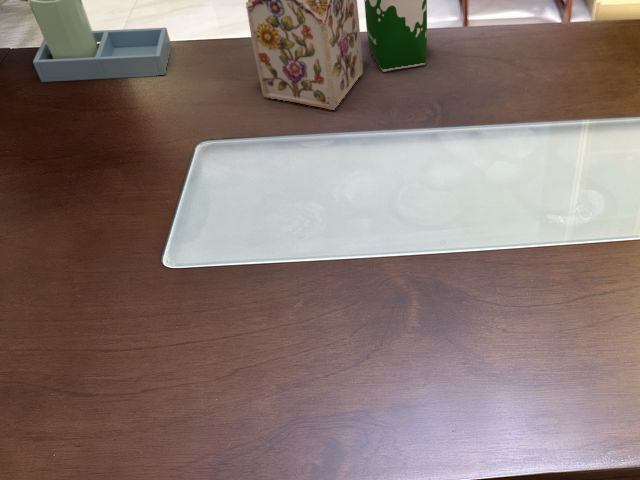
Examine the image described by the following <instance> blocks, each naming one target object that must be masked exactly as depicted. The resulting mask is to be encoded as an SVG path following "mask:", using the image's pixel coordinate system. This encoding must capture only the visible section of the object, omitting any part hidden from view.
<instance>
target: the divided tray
mask: <svg viewBox="0 0 640 480" xmlns="http://www.w3.org/2000/svg"><path fill="white" fill-rule="evenodd" d="M92 31H93V34H94V36H95V39H96V42H97V44H98V47H99V48H98V51H97V53H96V56H95V57H87V58H67V59H52V56H51V54H50V52H49V49H48V47H47V44H46V42H45V40H44V38H43V39H42V42H41V44H40V46H39V48H38V49H37V52H36V54H35V57H34V59H33V61H32V64H33V66H34V68H35V70H36V73H37V75H38V77H39V79H40V80H39V81H41V83H49V82H50V83H52V82H67V81H68V82H70V81H87V80H88V81H89V80H106V79H108V80H109V79H123V78H124V79H125V78H126V79H127V78H143V77H145V78H146V77H159V76H158V75H164V74H165V73H166V74H167V71H166V67H167V68H168V66H167V63H168V64H169V61H168V58H169V59H170V57H169V53H170V54H171V52H170V50H171V51H172V47H173V45H172V42H171V39H170V36H169V33H168V29H167V27H149V28H127V29H125V28H123V29H104V30H103V29H102V30H92ZM156 75H157V76H156Z"/></svg>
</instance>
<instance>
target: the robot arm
mask: <svg viewBox="0 0 640 480" xmlns="http://www.w3.org/2000/svg"><path fill="white" fill-rule="evenodd" d="M20 1H21V2H28V0H20ZM7 2H9V0H0V6H2V5H4V4H6V3H7ZM28 3H29V2H28Z"/></svg>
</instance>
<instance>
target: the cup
mask: <svg viewBox="0 0 640 480" xmlns="http://www.w3.org/2000/svg"><path fill="white" fill-rule="evenodd" d="M28 5H29V6H30V9H31V11H32V13H33V17H34V19H35V21H36V23H37V25H38V27H39V31H40V33H41V35H42V38H43V39H44V40H45V42H46V44H47V47H48V49H49V52H50V56H52V59H67V58H87V57H95V56H96V53H97V51H98V48H99V47H98V42H96V39H95V36H94V34H93V31H94V30H93V28H92V26H91V23H90V20H89V17H88V14H87V11H86V9H85V6H84V3H83V1H82V0H28Z"/></svg>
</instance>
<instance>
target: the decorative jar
mask: <svg viewBox="0 0 640 480" xmlns="http://www.w3.org/2000/svg"><path fill="white" fill-rule="evenodd" d="M245 8H246V14H247V20H248V25H249V26H248V27H249V32H250V37H251V41H252V48H253V54H254V59H255V63H256V69H257V73H258V78H259V83H260V87H261V92H262V96H263V97H264V98H265V97H266V99H269V98H270V99H269V100H274V99H277V100H276V101H280V100H283V101H282V102H285V101H291V102H296V103H301V104H308V105H314V106H319V107H324V108H330V109H335V108H336V107H337V106H338V105H339V106H340V104H341V103H342V102H341V100H342V99H343V98H344V97H345V95H346V94H347V93H348V91H349V90H350V89H351V88H352V86H353V85H354V84H355V82H356V81H357V80H358V78H359V77H360V76H361V75H362V76H363V74H362V73H364V64H363V50H362V41H361V40H362V38H361V29H360V18H359V7H358V0H247V2H245ZM362 76H361V77H362ZM361 77H360V78H361ZM358 81H359V80H358ZM358 81H357V82H358ZM357 82H356V83H357ZM355 85H356V84H355ZM355 85H354V86H355ZM354 86H353V87H354ZM352 89H353V88H352ZM352 89H351V90H352ZM348 94H349V93H348ZM348 94H347V95H348ZM345 98H346V97H345ZM345 98H344V99H345ZM340 102H341V103H340ZM339 103H340V104H339ZM339 106H338V107H339ZM338 107H337V108H338ZM337 108H336V109H337Z"/></svg>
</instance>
